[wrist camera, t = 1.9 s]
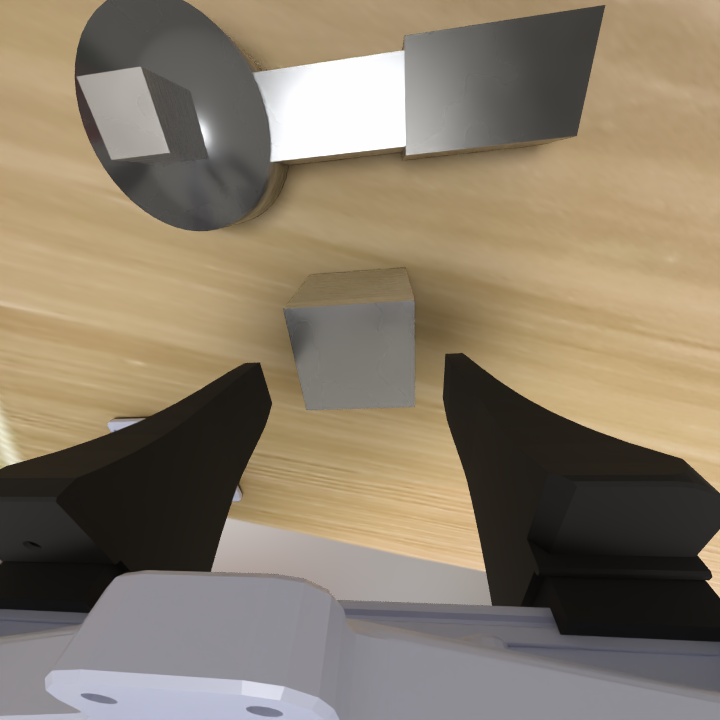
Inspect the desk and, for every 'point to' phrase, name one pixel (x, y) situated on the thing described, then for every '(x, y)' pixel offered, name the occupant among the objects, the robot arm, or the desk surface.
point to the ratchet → (309, 103)
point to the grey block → (354, 339)
